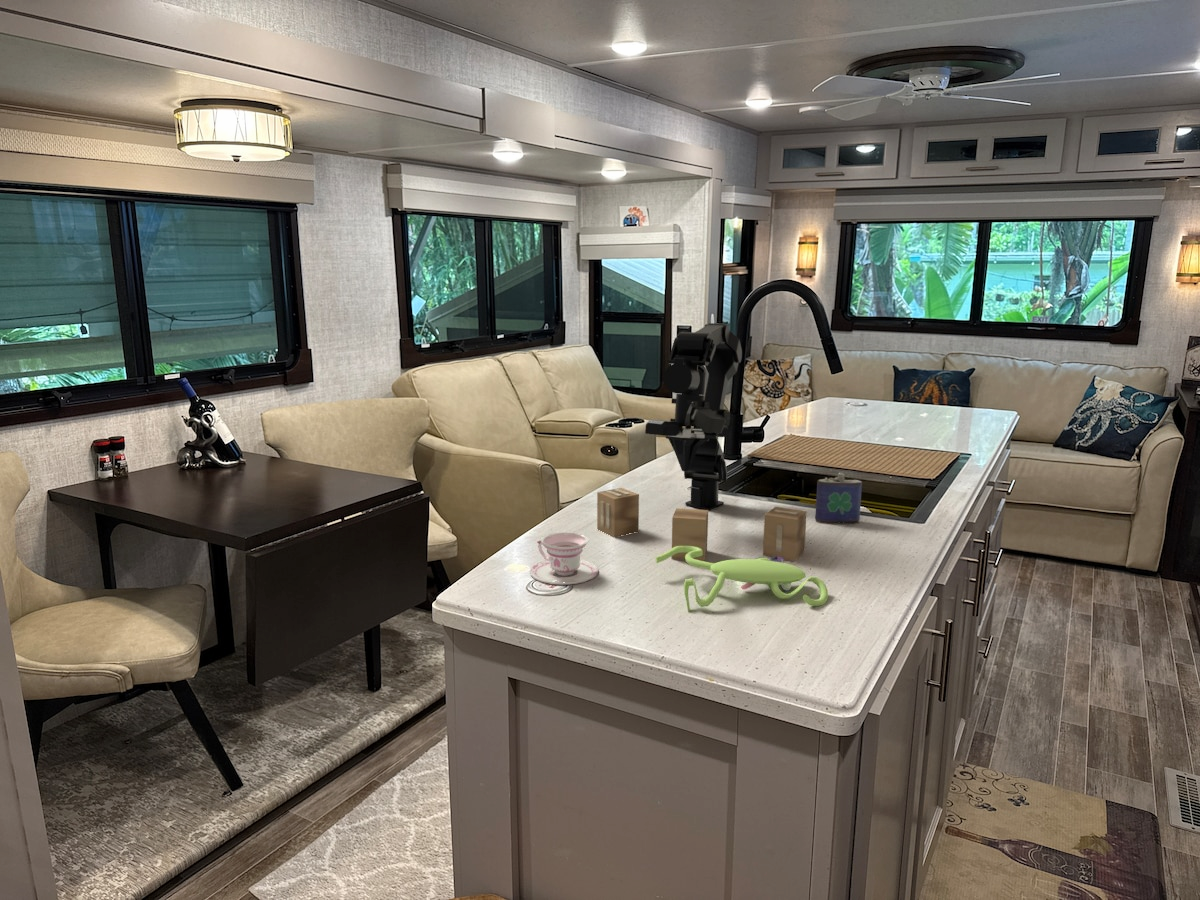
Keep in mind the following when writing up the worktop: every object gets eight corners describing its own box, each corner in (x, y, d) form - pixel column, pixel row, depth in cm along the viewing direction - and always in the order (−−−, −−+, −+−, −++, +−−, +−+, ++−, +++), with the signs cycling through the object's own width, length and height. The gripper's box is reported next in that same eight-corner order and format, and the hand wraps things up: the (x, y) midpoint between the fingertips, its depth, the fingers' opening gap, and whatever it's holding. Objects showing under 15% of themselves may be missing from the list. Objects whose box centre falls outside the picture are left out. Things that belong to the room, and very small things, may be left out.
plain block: (675, 548, 156) (676, 508, 154) (707, 550, 155) (708, 510, 153) (671, 559, 150) (672, 517, 148) (704, 561, 149) (705, 519, 147)
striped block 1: (621, 524, 170) (621, 486, 168) (638, 532, 165) (638, 493, 163) (596, 530, 167) (596, 491, 165) (613, 538, 162) (613, 498, 160)
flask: (857, 520, 173) (861, 471, 171) (861, 524, 170) (865, 474, 168) (813, 519, 174) (816, 470, 171) (816, 523, 171) (819, 474, 168)
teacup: (606, 565, 147) (606, 532, 146) (586, 589, 136) (586, 554, 135) (543, 558, 151) (543, 526, 149) (519, 582, 139) (518, 547, 138)
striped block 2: (773, 546, 157) (775, 505, 155) (804, 551, 154) (806, 510, 152) (762, 556, 152) (764, 513, 150) (794, 561, 149) (796, 518, 147)
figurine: (652, 572, 145) (652, 542, 144) (799, 567, 147) (801, 537, 146) (668, 615, 127) (669, 581, 126) (836, 609, 129) (838, 575, 128)
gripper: (685, 393, 153) (680, 476, 154) (751, 398, 165) (745, 475, 166) (646, 391, 162) (640, 470, 163) (711, 396, 174) (705, 469, 175)
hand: (685, 471), depth 166 cm, fingers closed
